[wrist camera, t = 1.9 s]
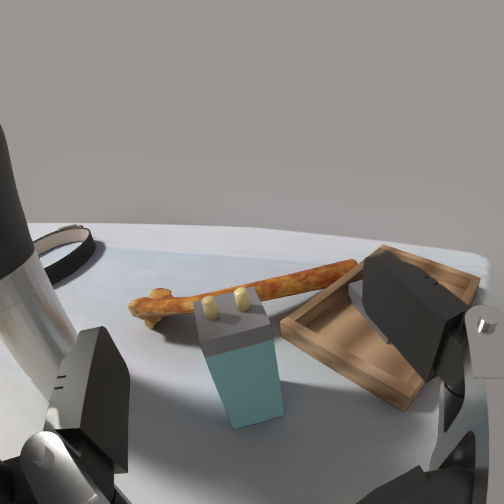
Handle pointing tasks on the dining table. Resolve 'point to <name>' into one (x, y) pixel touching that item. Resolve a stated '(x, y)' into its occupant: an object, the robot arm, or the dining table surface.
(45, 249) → the belt
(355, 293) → the socket
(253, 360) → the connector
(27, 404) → the dining table surface
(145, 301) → the bone
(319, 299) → the walled box
